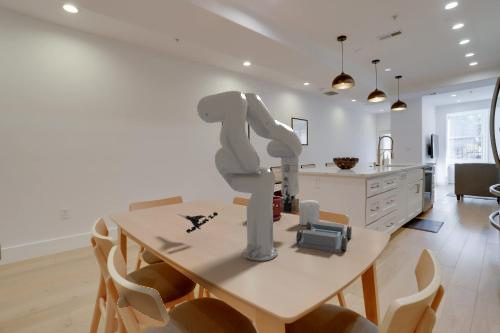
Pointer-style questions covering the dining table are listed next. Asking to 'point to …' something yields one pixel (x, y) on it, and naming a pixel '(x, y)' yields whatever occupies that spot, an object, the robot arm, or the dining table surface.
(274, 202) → the plant pot
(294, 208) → the brown cardboard carton
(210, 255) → the dining table surface
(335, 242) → the chassis
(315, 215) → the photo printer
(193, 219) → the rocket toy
